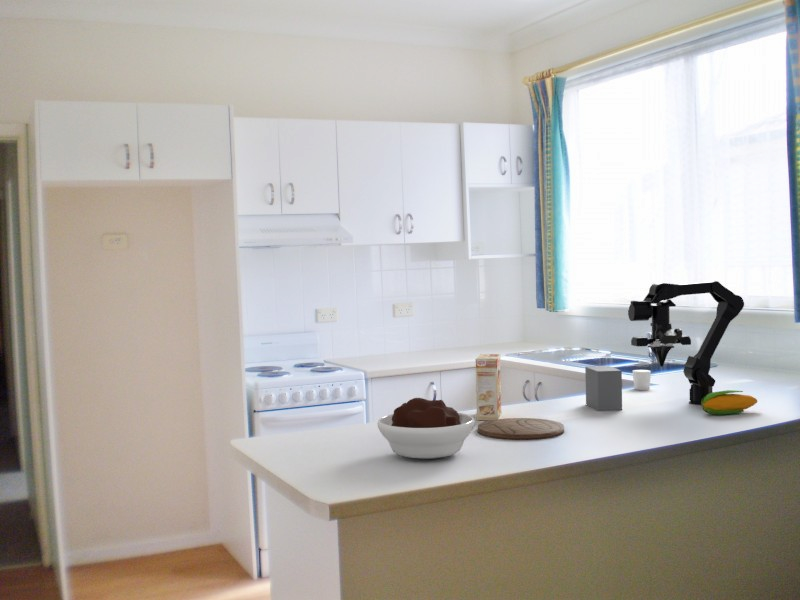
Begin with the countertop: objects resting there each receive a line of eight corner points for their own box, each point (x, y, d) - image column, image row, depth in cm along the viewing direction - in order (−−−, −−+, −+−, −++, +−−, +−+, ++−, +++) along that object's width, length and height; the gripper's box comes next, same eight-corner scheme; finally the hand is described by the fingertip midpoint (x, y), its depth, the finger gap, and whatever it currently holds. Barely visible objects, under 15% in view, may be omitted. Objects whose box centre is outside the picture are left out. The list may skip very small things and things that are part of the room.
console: (608, 403, 284) (608, 365, 284) (622, 409, 271) (621, 370, 271) (586, 404, 284) (585, 366, 283) (598, 410, 271) (597, 371, 270)
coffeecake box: (498, 420, 258) (497, 358, 257) (475, 420, 260) (474, 358, 259) (502, 412, 273) (501, 353, 272) (480, 412, 274) (479, 353, 273)
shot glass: (629, 388, 318) (628, 370, 318) (644, 386, 320) (644, 368, 320) (639, 390, 311) (639, 372, 311) (655, 389, 313) (654, 370, 313)
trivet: (497, 444, 226) (496, 437, 226) (465, 427, 250) (465, 421, 250) (579, 437, 233) (579, 430, 233) (541, 421, 257) (541, 415, 257)
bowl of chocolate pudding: (443, 441, 230) (441, 387, 229) (494, 458, 208) (493, 399, 207) (362, 453, 218) (360, 396, 218) (407, 472, 196) (406, 409, 196)
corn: (695, 389, 261) (748, 385, 267) (694, 413, 262) (747, 408, 268) (710, 394, 254) (764, 390, 260) (709, 418, 255) (763, 413, 260)
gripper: (642, 322, 269) (643, 370, 270) (698, 320, 271) (698, 368, 271) (630, 320, 280) (630, 366, 281) (683, 318, 282) (684, 364, 282)
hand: (661, 366), depth 278 cm, fingers closed
